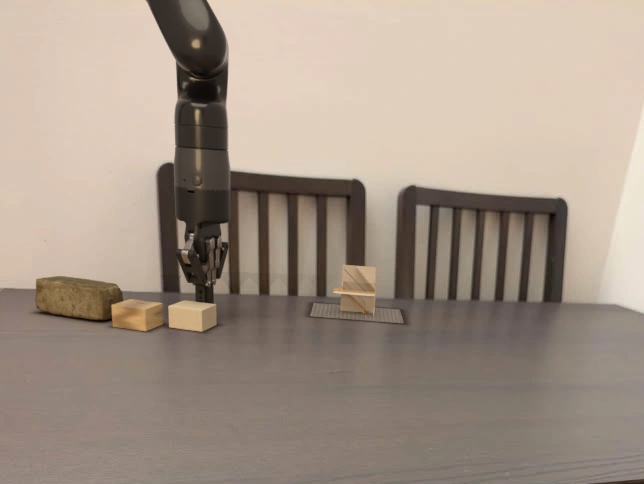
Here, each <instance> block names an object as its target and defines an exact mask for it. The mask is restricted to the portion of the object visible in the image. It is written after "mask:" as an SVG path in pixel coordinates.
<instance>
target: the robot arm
mask: <svg viewBox="0 0 644 484" xmlns="http://www.w3.org/2000/svg"><path fill="white" fill-rule="evenodd" d="M145 2H146V4H147V5H148V7H149V10H150V12H151V14H152V16H153V18H154V21H155V23H156V25H157V27H158V30H159V31H160V33H161V35H162V37H163V39H164V41H165V43H166V45H167V47H168V49H169V51H170V53H171V54H172V56H173V58H174V60H175V71H176V73H175V74H176V90H177V91H176V93H177V96H176V97H177V99H176V103H175V107H174V116H173V117H174V119H173V120H174V121H173V122H174V123H173V125H174V146H175V147H174V158H173V181H174V183H173V184H174V209H175V210H174V213H175V214H174V215H175V218H176V219H177V220H178V221H180V222H184V224H185V229H184V233H183V234H184V238H183V239H184V246H183V248H176V250H175V251H176V252H175V256H176V259H177V261H178V263H179V265H180V268H181V271H182V273H183V275H184V278H185V281H186V283H188V284H192V286H194V290H195V291H194V292H195V297H194V298H195V302H202V303H210V304H215V298H214V297H215V293H214V290H215V288H214V287H215V286H216V284H217V280H220V279H221V278H222V274H223V270H224V266H225V262H226V259H227V256H228V252H229V247H230V245H229V242H228V241H223V238H222V229H221V228H222V227H221V225H223V224H227V223H229V222H230V221H231V165H230V164H231V163H230V156H229V153H230V152H229V118H228V116H229V115H228V109H227V107H228V106H227V103H228V101H227V100H228V85H229V67H230V66H229V65H230V63H229V62H230V50H229V49H230V47H229V42H228V39H227V36H226V33H225V30H224V28H223V26H222V25H221V23H220V21H219V19H218V17H217V15H216V14H215V12H214V10H213V8H212V7H211V5H210V3H209V1H208V0H145Z"/></svg>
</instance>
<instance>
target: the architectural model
mask: <svg viewBox="0 0 644 484" xmlns="http://www.w3.org/2000/svg"><path fill="white" fill-rule="evenodd" d="M341 273H342V274H341V287H333V292H332V293H333V294H340V304H334V303H333V304H331V303H321V302H313V305H312V309H311V312H310V315H309V317H314V318H326V319H337V320H338V319H339V320H353V321H367V322H378V323H379V322H380V323H392V324H404V319H403V315H402V313H401V309H400V308H399V309H397V308H387V307H385V308H384V307H376V298H377V297H376V296H377V288H376V287H377V282H376V278H377V266H364V265H351V264H342V271H341Z"/></svg>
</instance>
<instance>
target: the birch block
mask: <svg viewBox="0 0 644 484" xmlns="http://www.w3.org/2000/svg"><path fill="white" fill-rule="evenodd" d="M111 307H112V318H111V320H112V327H113V328H118V329H125V330H133V331H139V332H140V331H141V332H148V331H151V330H153V329H156V328H159V327H160V326H164V305H163V303H162V302H157V301H156V302H155V301H148V300H141V299H133V298H129V299H127V300H123V301H122V302H119V303H116V304H113V305H111Z"/></svg>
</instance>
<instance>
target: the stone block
mask: <svg viewBox="0 0 644 484" xmlns="http://www.w3.org/2000/svg"><path fill="white" fill-rule="evenodd" d="M34 300H35V307H36V309H38V310H40V311H42V312H44V313H50V314H52V315H59V316H65V317H73V318H76V319H77V318H81V319H85V320H92V321H93V320H94V321H106V320H112V307H111V305H113V304H116V303H119V302H122V301H124V295H123V290H122V289H121V288H120V287H119V285H118V284H116V283H113V282H106V281H101V280H95V279H89V278H81V277H72V276H66V275H65V276H64V275H55V276H49V277H41V278H36V280H35V298H34Z"/></svg>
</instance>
